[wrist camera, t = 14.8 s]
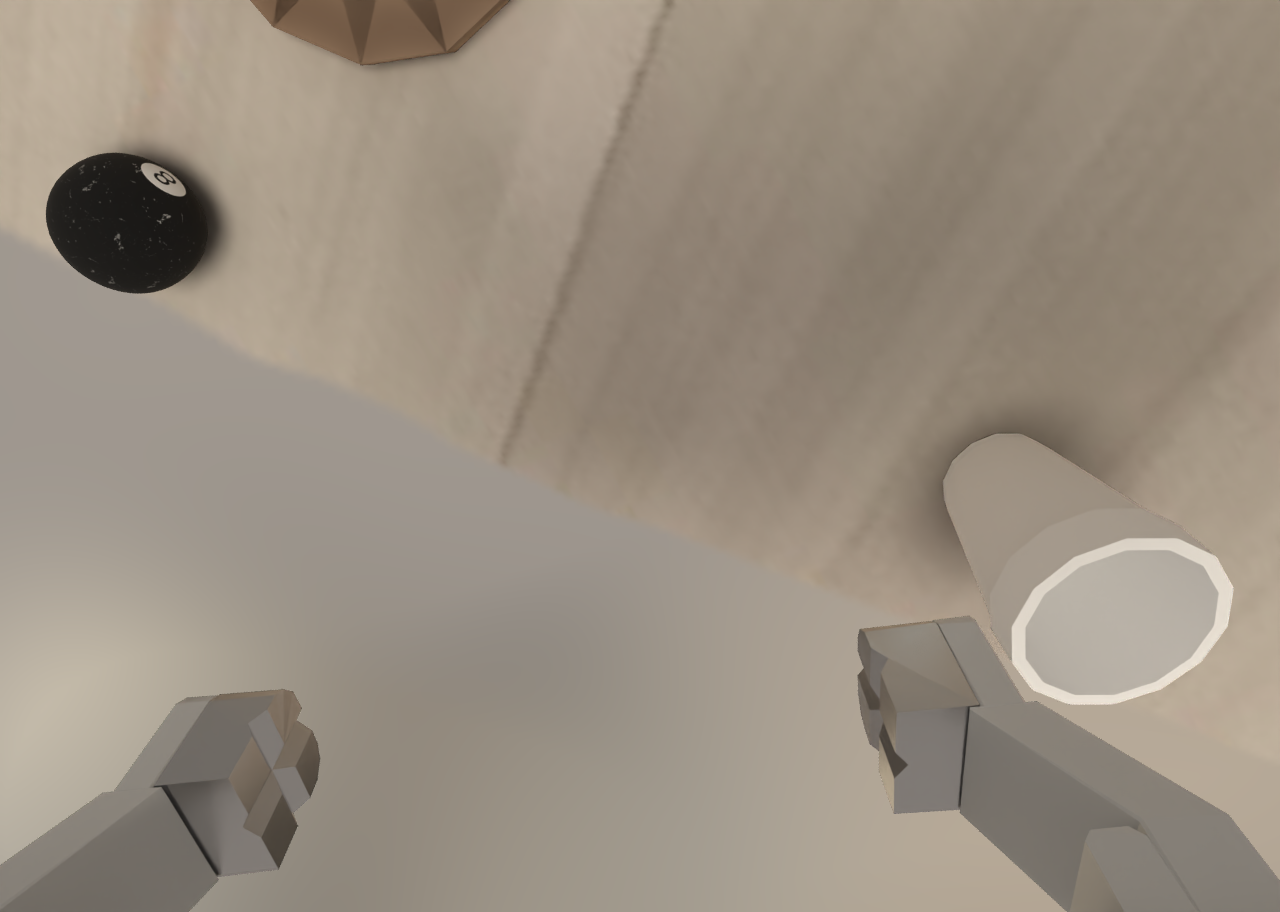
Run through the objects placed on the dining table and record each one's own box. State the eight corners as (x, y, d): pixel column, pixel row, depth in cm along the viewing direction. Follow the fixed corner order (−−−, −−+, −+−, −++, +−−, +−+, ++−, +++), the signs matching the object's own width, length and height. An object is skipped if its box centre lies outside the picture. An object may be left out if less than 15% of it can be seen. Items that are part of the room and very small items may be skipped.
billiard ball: (252, 215, 38) (190, 241, 33) (186, 297, 40) (118, 334, 35) (142, 119, 36) (57, 131, 31) (78, 210, 38) (-12, 236, 33)
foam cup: (1113, 448, 44) (1281, 587, 33) (1011, 567, 48) (1130, 728, 37) (979, 382, 42) (1107, 505, 31) (884, 511, 46) (967, 663, 35)
